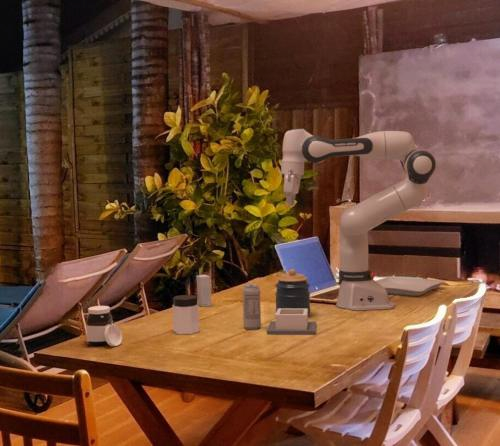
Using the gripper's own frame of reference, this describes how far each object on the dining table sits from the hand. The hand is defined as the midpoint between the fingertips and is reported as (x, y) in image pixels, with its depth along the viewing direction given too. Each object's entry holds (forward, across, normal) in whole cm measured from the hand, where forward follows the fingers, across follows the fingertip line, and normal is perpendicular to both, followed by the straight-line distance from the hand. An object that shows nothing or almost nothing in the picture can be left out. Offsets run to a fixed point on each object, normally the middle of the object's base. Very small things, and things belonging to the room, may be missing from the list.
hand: (290, 205), depth 278 cm
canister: (+40, -16, -6) cm, 44 cm away
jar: (+44, -42, +28) cm, 67 cm away
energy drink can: (+42, -35, +6) cm, 55 cm away
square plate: (+35, +38, -48) cm, 71 cm away
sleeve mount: (+41, -37, -8) cm, 56 cm away
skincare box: (+43, +1, +32) cm, 54 cm away
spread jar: (+47, -61, +50) cm, 91 cm away
